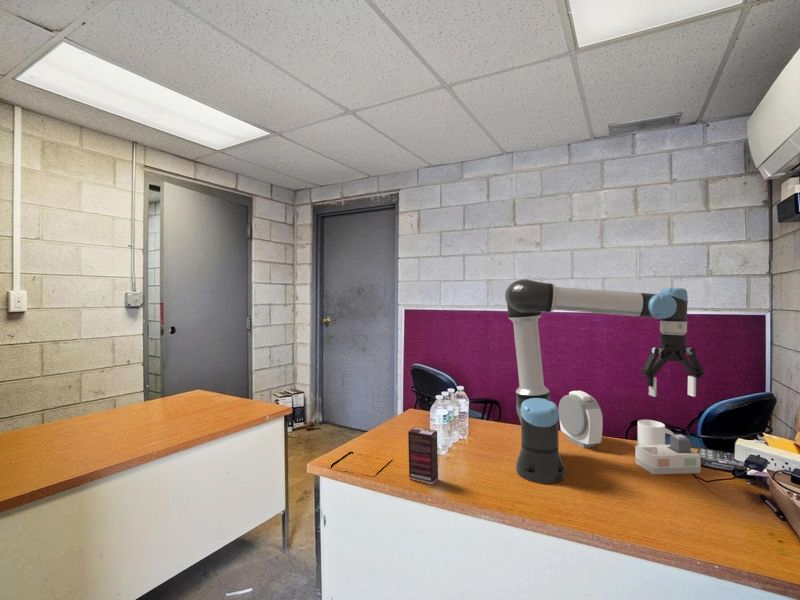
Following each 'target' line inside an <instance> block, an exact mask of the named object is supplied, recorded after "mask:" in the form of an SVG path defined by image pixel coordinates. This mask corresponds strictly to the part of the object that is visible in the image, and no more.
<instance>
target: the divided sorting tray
mask: <svg viewBox="0 0 800 600" xmlns="http://www.w3.org/2000/svg"><path fill="white" fill-rule="evenodd" d="M634 448H635V452H634V453H635V455H634V456H635V457H634V458H635V461H634V462H635V464H636V465H638V466H639V467H641V468H642V469H644V470H646V471H648V472H649V473H650V474H651V475H675V474H676V475H677V474H678V475H680V474H683V475H684V474H701V471H702V470H701V466H702V465H701V462H702V461H701V460H702V458H701V454H700V453H698V452H695V451H694V450H692V449H691V453H677V452H675V451H673V450H671V449H670V444H665V445H638V444H637V445H635V447H634Z"/></svg>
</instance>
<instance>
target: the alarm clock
mask: <svg viewBox="0 0 800 600" xmlns="http://www.w3.org/2000/svg"><path fill="white" fill-rule="evenodd" d="M558 413H559V426H560V431H561V432H562V433H564V434H565V439H566V440H568V441H570V442H572V443H574V444H575V445H577V446H578V447H581V448H582V449H586V448H587V449H588V448H595V447H596V444H601V443H602V438H603V437H602V436H603V424H604V423H603V420H604V419H603V411H602V409H601V406H600V404H599V402H598V401H597V400H596V398H594V397H593V396H592V395H590V394H589V393H587V392H585V391H582V390H572V391H569V392H568V394H567V395H564V396H562V397H561V399H560V400H559V404H558Z"/></svg>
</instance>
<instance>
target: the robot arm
mask: <svg viewBox="0 0 800 600" xmlns="http://www.w3.org/2000/svg"><path fill="white" fill-rule="evenodd" d="M504 297H505V302H506V306H507V308H506V309H507V318H508V319H509V320H510V321H511V322H512V324H513V332H514V333H513V335H514V336H513V337H514V344H515V346H514V347H515V354H516V355H515V356H516V363H517V364H516V365H517V372H518V384H519V387H518V388H516V390H515V397H516V405H515V407H516V414H517V416H518V418H519V422H520V430H521V431H520V433H521V434H520V437H521V438H520V439H521V448H520V451H519V453H518V457H517V459H516V464H515V466H516V467H515V470H516V473H517V474H518V475H519V476H520V477H521V476H522V477H521V478H523V479H525V480H528V481H531V482H534V483H540V484H556V483H560V482H562V481H563V480H564V479H565V477H566V476H565V467H564V464H563V461H562V457H561V455H560V452H559V420H560V418H559V411H558V409H559V407H558V406H557V404H556V403H555V402H553V401H551V397H550V389H549V388H547V387H546V386H545V384H544V383H545V382H544V373H543V362H542V361H543V360H542V352H541V341H540V333H539V323H538V321H539V319H540V318H541V317H542V313H552V312H553V311H565V312H577V313H579V312H580V313H590V314H591V313H592V314H605V315H613V316H614V315H616V316H627V317H628V316H630V317H641V318H652V319H656V320H657V319H658V320H659V322H660V323H659V332H660V334H659V344H660V347H653V346H651V347H650V354H649V355H648V358H647V359H646V360H645V364H644V365H643V367H642V369H641V371H640V374H642V375H644V376H646V385H647V386H648V395H649V396H651V397H654V398H656V397H657V386H658V385H657V377H656V375H657V374H658V373H659V372H660V370H661V369H662V367H664V366H665V364H667V363H668V362H678V363H680V364H681V365H682V366H683V368H684V370H686V371H687V372H688V374H689V375H688V376H687V396H690V397H694V398H695V397H696V396H697V387H698V385H699V379H700V378H701V377H702V376H705V372H704V370H703V368H702V365H701V363H700V361H699V359H698V356H697V355H696V352H697V351H696V349H695V348H694V347H689V346H687V345H688V341H687V340H688V336H687V335H686V334H687V333H688V304H689V300H688V298H689V297H688V290H687V289H685V288H684V287H683V288H681V287H675V288H674V287H673V288H672V287H671V288H668V287H667V288H665V287H664V288H660V292H659V293H647V292H646V293H645V292H634V291H620V290H619V291H618V290H607V289H606V290H605V289H591V288H589V289H588V288H576V287H561V286H556V285H555V284H554V283H548V282H547V283H546V282H541V281H536V280H531V279H528V278H527V279H525V278H524V279H520V280H519V279H518V280H516V281H513V282H512V283H510V284H509V285H508V286H507V288H506V291H505V294H504ZM686 346H687V347H686ZM686 356H687V357H688V358H687V357H686Z"/></svg>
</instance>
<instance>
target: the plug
mask: <svg viewBox="0 0 800 600" xmlns="http://www.w3.org/2000/svg"><path fill="white" fill-rule="evenodd" d="M674 435H675V436H672V435H670V436H669V445H670V449H671V450H673V451H675V452H677V453H691V450H692V449H691V439H690V438H687V436H685V435H683V434H674Z"/></svg>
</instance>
